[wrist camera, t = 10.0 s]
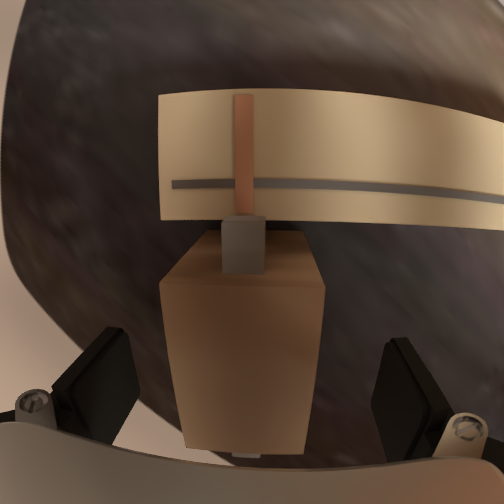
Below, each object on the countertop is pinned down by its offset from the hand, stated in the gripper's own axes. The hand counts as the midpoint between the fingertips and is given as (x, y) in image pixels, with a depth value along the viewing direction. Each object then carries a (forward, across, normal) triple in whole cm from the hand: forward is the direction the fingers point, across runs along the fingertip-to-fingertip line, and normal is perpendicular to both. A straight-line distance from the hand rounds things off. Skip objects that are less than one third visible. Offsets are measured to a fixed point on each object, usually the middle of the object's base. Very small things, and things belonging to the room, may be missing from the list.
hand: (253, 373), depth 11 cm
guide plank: (+6, -6, -7) cm, 11 cm away
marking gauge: (+6, 0, 0) cm, 6 cm away
